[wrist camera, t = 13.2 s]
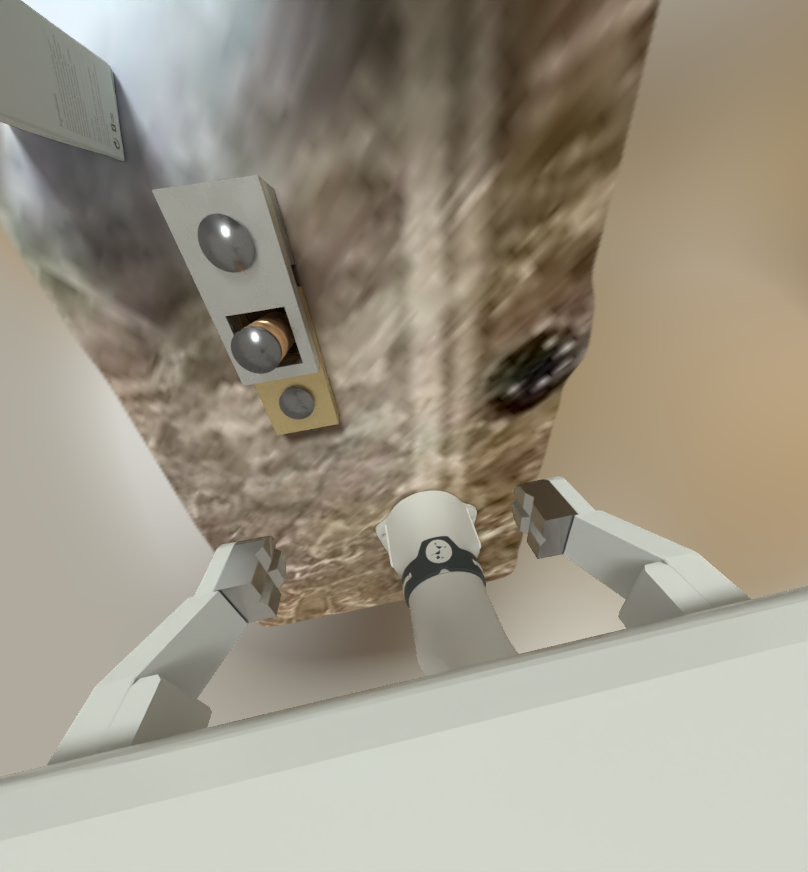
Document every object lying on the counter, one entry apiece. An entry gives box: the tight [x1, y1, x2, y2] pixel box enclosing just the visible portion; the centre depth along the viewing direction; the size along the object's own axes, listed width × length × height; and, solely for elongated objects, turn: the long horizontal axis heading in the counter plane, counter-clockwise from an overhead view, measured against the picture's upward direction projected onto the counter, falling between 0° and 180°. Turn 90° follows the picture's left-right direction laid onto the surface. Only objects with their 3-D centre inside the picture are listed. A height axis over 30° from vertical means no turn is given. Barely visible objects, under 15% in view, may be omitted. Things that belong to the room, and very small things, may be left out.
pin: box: [231, 312, 295, 374], centre depth 29 cm, size 4×4×9 cm
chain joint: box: [152, 175, 339, 435], centre depth 30 cm, size 24×8×6 cm, turn 8°
